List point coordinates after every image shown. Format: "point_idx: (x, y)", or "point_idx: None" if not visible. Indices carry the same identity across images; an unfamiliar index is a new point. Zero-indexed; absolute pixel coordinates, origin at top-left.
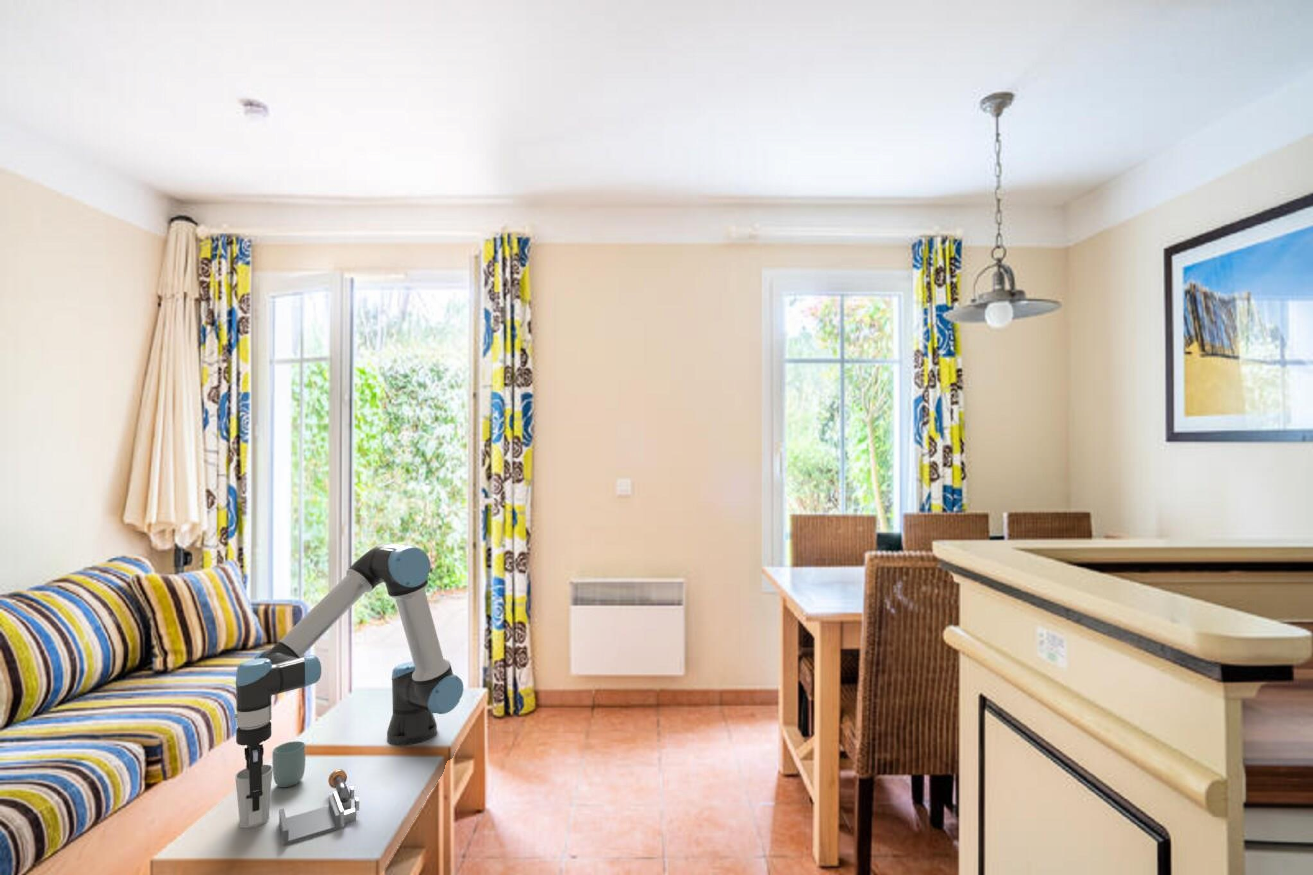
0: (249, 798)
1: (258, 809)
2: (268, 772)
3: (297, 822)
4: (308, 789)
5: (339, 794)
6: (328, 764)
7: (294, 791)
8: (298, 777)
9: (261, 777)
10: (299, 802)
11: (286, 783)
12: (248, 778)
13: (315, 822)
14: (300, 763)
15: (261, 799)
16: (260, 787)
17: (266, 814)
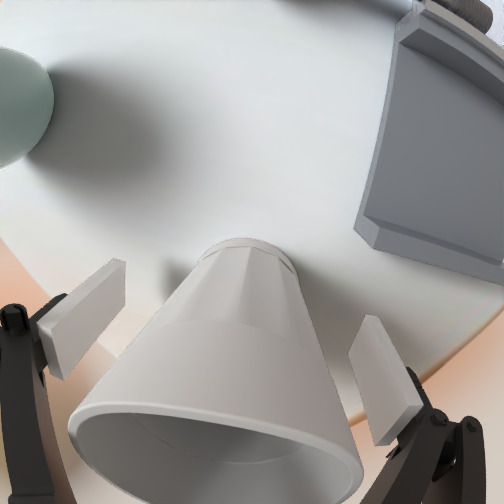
0: (390, 440)
1: (409, 372)
2: (354, 457)
3: (438, 190)
4: (123, 47)
5: (460, 14)
6: (22, 2)
7: (96, 97)
8: (44, 76)
9: (484, 492)
10: (219, 97)
11: (45, 123)
12: (127, 415)
13: (483, 150)
14: (3, 60)
15: (411, 386)
16: (478, 453)
17: (287, 269)
